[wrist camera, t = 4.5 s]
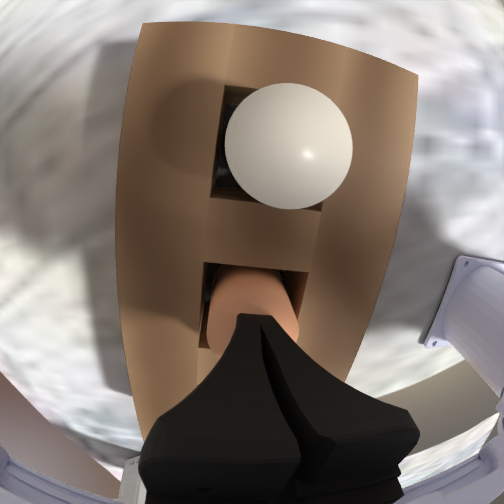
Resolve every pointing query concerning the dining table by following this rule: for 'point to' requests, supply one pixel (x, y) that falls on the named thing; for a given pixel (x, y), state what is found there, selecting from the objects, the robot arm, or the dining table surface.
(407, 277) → the dining table surface
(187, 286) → the walnut button box
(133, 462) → the skincare box
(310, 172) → the cream plunger
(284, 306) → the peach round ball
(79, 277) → the dining table surface
